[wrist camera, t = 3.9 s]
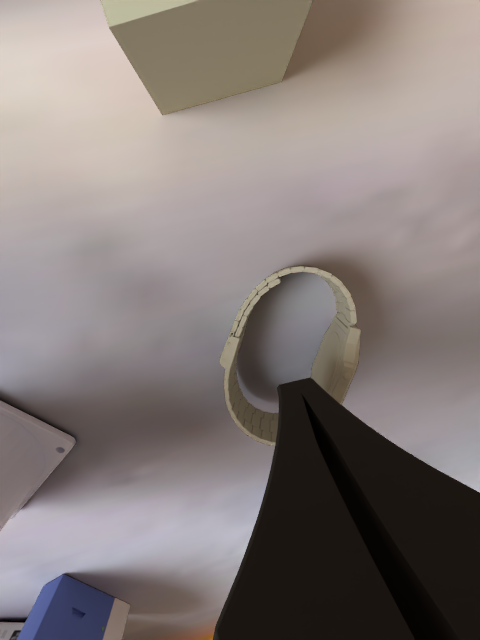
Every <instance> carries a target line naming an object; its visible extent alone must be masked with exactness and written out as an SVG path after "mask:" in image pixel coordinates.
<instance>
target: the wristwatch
mask: <svg viewBox="0 0 480 640" xmlns="http://www.w3.org/2000/svg"><path fill="white" fill-rule="evenodd" d="M302 271H303V272H309V273H314V274H317V275H319V276H321V277H322V278H323V279H324V280H325V281H326V282H328V284H329V286H330V287H331V288H332V290H333V291H334V295H335V298H336V309H337V311H338V312H337V314H335V317H334V319H333V321H332V323H331V325H330V327H329V328H328V330H327V331H326V332H325V334H324V337H323V340H322V342H321V345H320V347H319V350H318V353H317V355H316V358H315V360H314V363H313V366H312V368H311V376H310V378H312V379H313V380H314V381H315V382H316V383H317V384H318V385H320V386H321V387H322V388H323V389H324V390H325V391H326V392H327V393H328V394H329V395H330V396H332V397H333V398H334V399H335V400H336V401H337V402H338V403H340V404H341V405H342V403H343V400H344V398H345V396H346V393H347V391H348V388H349V386H350V384H351V381H352V379H353V376H354V374H355V372H356V369H357V366H358V362H359V352H360V333H361V330H360V329H359V328H358V327H357V326H355V323H357V319H356V311H355V309H356V307H355V305H354V302H353V300H352V297H350V296H351V294H350V292H349V291H348V290H347V289H346V287H345V286H344V285H342V284H343V283H342V282H341V281H340V280H339V279H337V278H336V277H335V276H332V274H331V273H328V272H326V271H323V270H320V269H318V268H313V267H306V266H294V267H287V268H284V269H282V270H279V271H277V272H275V273H273V274H272V275H270V276H269V277H267V278H266V279H264V280H263V281H262V282H261V283H260V284H259V285H258V286H257V287H256V288H255V289H254V290H253V291H252V292H251V294H250V295H249V296H248V298H247V299H246V300H245V301H244V303H243V305H242V306H241V309H240V310H239V312H238V314H237V317H236V320H235V321H234V323H233V326H232V328H231V332H230V335H229V337H228V339H227V342H226V344H225V347H224V349H223V352H222V354H221V357H220V364H221V366H222V367H223V368H226V369H225V375H224V379H225V380H224V389H225V390H224V393H225V400H226V405H227V408H228V410H229V412H230V415H231V417H232V419H233V420H234V422H235V423H236V424H237V426H238V427H239V428H240V429H241V430H242V431H243V432H244V433H245V434H246V435H247V436H250V437H251V438H252V439H254V440H256V441H258V442H260V441H261V443H264V444H267V445H271V444H272V445H273V446H275V443H276V437H277V430H278V417H279V413H269V412H263V411H261V410H259V409H257V408H255V407H254V406H253V405H251V404H250V403H248V401H247V400H246V398H245V397H244V396H243V394H242V392H241V390H240V389H239V384H238V381H237V373H236V364H237V363H236V361H237V355H238V353H239V349H240V346H241V343H242V340H243V336H244V333H245V330H246V324H247V321H248V319H249V316H250V314H251V312H252V310H253V307H254V306H255V304H256V302H257V301H258V300H259V299H260V297H261V296H262V295H263V294H264V293H266V292H267V291H268V290H269V289H270V288H272V287H274V286H276V285H277V284H279V283H280V281H281V278H280V277H281V276H284V275H286V274H289V273H296V272H302ZM256 294H257V295H256ZM255 295H256V296H255Z"/></svg>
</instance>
